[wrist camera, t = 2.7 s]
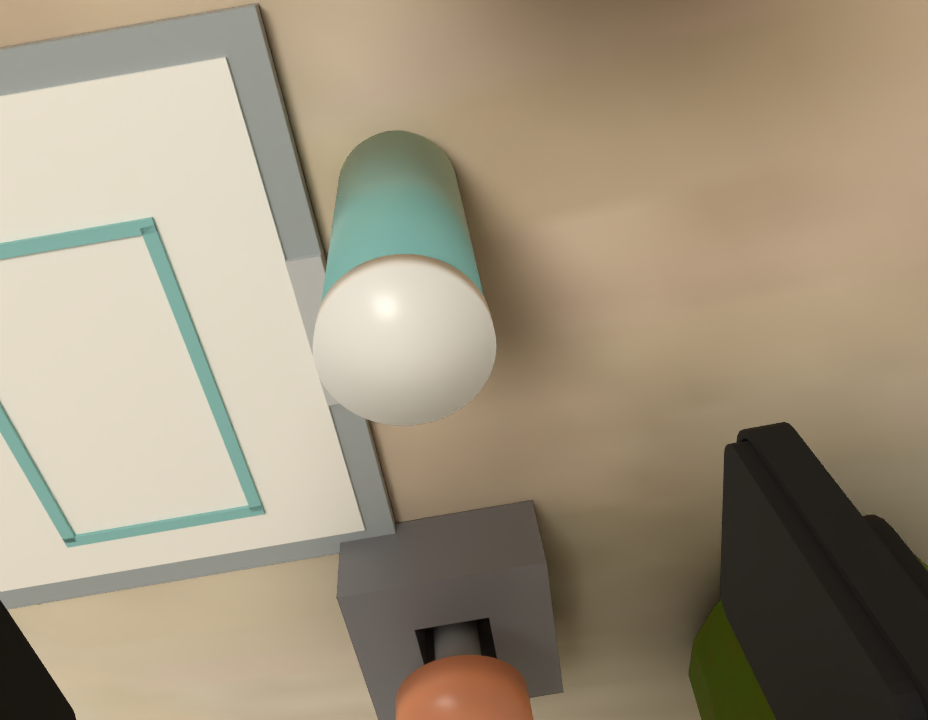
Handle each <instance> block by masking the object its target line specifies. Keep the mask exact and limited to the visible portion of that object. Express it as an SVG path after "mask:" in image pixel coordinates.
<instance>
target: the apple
mask: <svg viewBox="0 0 928 720" xmlns="http://www.w3.org/2000/svg"><path fill="white" fill-rule="evenodd" d="M915 556H916V555H915ZM916 557H917V556H916ZM917 559H918V560H919V561H920V562H921V564H922V565H923V566H924V567H925V569H926V570H927V571H928V566H927V565H926V564H925V563H924V562H922V561H921V560H920V559H919V558H918V557H917ZM689 678H690V681H691V685H692V688H693V692H694V695H695V699H696V702H697V705H698V709H699V712H700V716H701V719H702V720H776V718H775V716H774V714H773V712H772V710H771V708H770V706H769V704H768V702H767V700H766V698H765V696H764V694H763V692H762V689H761V687H760V685H759V683H758V681H757V679H756V677H755V675H754V673H753V671H752V669H751V667H750V665H749V663H748V661H747V659H746V657H745V654H744V652H743V650H742V648H741V646H740V644H739V642H738V640H737V638H736V636H735V634H734V632H733V630H732V628H731V626H730V624H729V622H728V619H727V617H726V615H725V612H724V609H723V605H722V601H721V600H720V601H719V602H718V603H717V604H716V605H715V607H714V608H713V610H712V611H711V613H710V615H709V616H708V618H707V620H706V621H705V623H704V624H703V626H702V628H701V629H700V631H699V633H698V634H697V636H696V637H695V639H694V641H693V647H692V654H691V661H690V668H689Z"/></svg>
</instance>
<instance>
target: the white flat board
mask: <svg viewBox="0 0 928 720" xmlns="http://www.w3.org/2000/svg"><path fill="white" fill-rule="evenodd" d="M326 266H327V263H326V259H325V255H324V252H323V248H322V244H321V240H320V237H319V233H318V229H317V225H316V221H315V218H314V214H313V210H312V206H311V203H310V199H309V195H308V191H307V187H306V184H305V180H304V176H303V172H302V169H301V165H300V161H299V157H298V153H297V150H296V146H295V142H294V138H293V135H292V131H291V127H290V123H289V119H288V116H287V112H286V108H285V104H284V100H283V97H282V93H281V89H280V85H279V82H278V78H277V74H276V70H275V66H274V63H273V59H272V55H271V51H270V48H269V44H268V40H267V36H266V32H265V29H264V25H263V21H262V17H261V14H260V10H259V6H258V3H255V4H249V5H243V6H238V7H232V8H226V9H220V10H215V11H209V12H203V13H197V14H192V15H186V16H180V17H174V18H168V19H163V20H157V21H151V22H145V23H140V24H134V25H128V26H122V27H117V28H111V29H105V30H99V31H94V32H88V33H82V34H76V35H71V36H65V37H59V38H53V39H48V40H42V41H36V42H30V43H24V44H19V45H13V46H7V47H1V48H0V600H1V602H2V603H3V605H4V606H5V608H6V609H12V608H18V607H24V606H30V605H36V604H42V603H48V602H54V601H60V600H66V599H71V598H77V597H83V596H89V595H95V594H101V593H107V592H113V591H119V590H125V589H131V588H137V587H143V586H148V585H154V584H160V583H166V582H172V581H178V580H184V579H190V578H196V577H202V576H208V575H214V574H220V573H225V572H231V571H237V570H243V569H249V568H255V567H261V566H267V565H273V564H279V563H285V562H291V561H297V560H302V559H308V558H314V557H320V556H326V555H332V554H338V553H340V543H341V542H347V541H353V540H359V539H365V538H371V537H377V536H383V535H389V534H395V533H396V527H395V520H394V516H393V512H392V509H391V505H390V501H389V497H388V493H387V490H386V486H385V482H384V478H383V475H382V471H381V467H380V463H379V459H378V456H377V452H376V448H375V444H374V441H373V437H372V433H371V429H370V425H369V422H368V419H365V418H363V417H361V416H358V415H356V414H354V413H353V412H351V411H349V410H348V409H346V408H345V407H344V406H342V405H341V404H340V403H338V402H337V401H336V400H335V399H334V398H333V397H332V396H331V395H330V393H329V392H328V391H327V389H326V388H325V387H324V385H323V383H322V382H321V380H320V378H319V376H318V373H317V371H316V368H315V364H314V359H313V336H314V330H315V323H316V318H317V314H318V310H319V308H320V305H321V301H322V294H323V287H324V280H325V273H326Z"/></svg>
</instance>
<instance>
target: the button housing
mask: <svg viewBox="0 0 928 720" xmlns="http://www.w3.org/2000/svg"><path fill="white" fill-rule="evenodd" d="M395 527H396V533H395V534H389V535H383V536H377V537H371V538H365V539H359V540H353V541H347V542H341V543H340V553H339V568H338V583H337V600H338V603H339V606H340V609H341V612H342V615H343V618H344V621H345V624H346V627H347V629H348V632H349V635H350V638H351V641H352V644H353V647H354V650H355V653H356V656H357V659H358V662H359V664H360V667H361V670H362V673H363V676H364V679H365V682H366V685H367V688H368V691H369V694H370V697H371V699H372V702H373V705H374V708H375V711H376V714H377V717H378V720H396V707H395V699H396V694H397V691H398V689H399V687H400V685H401V684H402V682H403V681H404V680H405V679H406V678H407V677H408V676H409V675H410V674H411V673H412V672H414V671H415V670H417V669H418V668H420V667H422V666H424V665H425V664H428V663H430V662H433V661H435V646H434V630H433V627H436V626H442V625H448V624H453V623H459V622H465V621H471V620H477V625H478V633H479V642H480V650H481V656H488V657H492V658H496V659H499V660H502V661H504V662H506V663H508V664H510V665H511V666H513V667H514V668H516V669H517V670H518V671H519V672H520V673H521V674H522V676H523V677H524V679H525V681H526V683H527V687H528V692H529V698H532V697H538V696H544V695H550V694H556V693H562V692H563V686H562V678H561V670H560V662H559V655H558V647H557V639H556V631H555V624H554V616H553V608H552V600H551V593H550V585H549V577H548V569H547V562H546V558H545V553H544V549H543V545H542V540H541V536H540V532H539V527H538V523H537V519H536V514H535V510H534V506H533V501H532V500H531V501H525V502H519V503H514V504H508V505H502V506H496V507H490V508H484V509H478V510H472V511H466V512H460V513H454V514H448V515H443V516H437V517H431V518H425V519H419V520H413V521H407V522H401V523H395Z"/></svg>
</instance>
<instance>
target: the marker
mask: <svg viewBox="0 0 928 720" xmlns="http://www.w3.org/2000/svg"><path fill="white" fill-rule="evenodd" d="M496 347H497V346H496V335H495V331H494V326H493V322H492V318H491V314H490V310H489V307H488V305H487V302H486V300H485V298H484V295H483V291H482V287H481V282H480V278H479V274H478V269H477V265H476V260H475V256H474V252H473V247H472V243H471V239H470V234H469V230H468V226H467V221H466V217H465V213H464V208H463V204H462V200H461V195H460V191H459V187H458V182H457V178H456V174H455V171H454V168H453V166H452V164H451V162H450V160H449V158H448V157H447V156H446V154H445V153H444V152H443V151H442V150H441V149H440V148H439V147H438V146H437V145H436V144H434V143H433V142H432V141H430V140H428V139H427V138H425V137H422V136H420V135H417V134H414V133H411V132H406V131H387V132H383V133H380V134H377V135H375V136H372V137H370V138H368V139H366V140H365V141H363V142H362V143H360V144H359V145H358V146H357V147H356V148H355V149H354V150H353V151H352V152H351V153H350V154H349V156H348V157H347V159H346V161H345V162H344V164H343V167H342V169H341V172H340V176H339V182H338V189H337V196H336V203H335V210H334V217H333V224H332V231H331V238H330V245H329V252H328V259H327V266H326V273H325V280H324V287H323V294H322V301H321V305H320V308H319V310H318V314H317V318H316V323H315V330H314V336H313V359H314V364H315V368H316V371H317V373H318V376H319V378H320V380H321V382H322V383H323V385H324V387H325V388H326V389H327V391H328V392H329V393H330V395H331V396H332V397H333V398H334V399H335V400H336V401H337V402H338V403H340V404H341V405H342V406H344V407H345V408H346V409H348V410H349V411H351V412H353V413H354V414H356V415H358V416H361V417H363V418H365V419H368V420H371V421H374V422H377V423H382V424H387V425H397V426H411V425H419V424H425V423H429V422H433V421H436V420H439V419H442V418H444V417H447V416H449V415H451V414H453V413H455V412H456V411H458V410H459V409H461V408H463V407H464V406H465V405H466V404H468V403H469V402H470V401H471V400H472V399H473V398H474V397H475V396H476V395H477V394H478V393H479V392H480V390H481V389H482V388H483V386H484V385H485V383H486V382H487V380H488V378H489V376H490V374H491V371H492V369H493V366H494V362H495V358H496Z"/></svg>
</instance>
